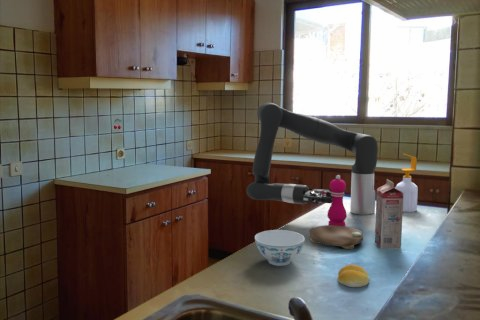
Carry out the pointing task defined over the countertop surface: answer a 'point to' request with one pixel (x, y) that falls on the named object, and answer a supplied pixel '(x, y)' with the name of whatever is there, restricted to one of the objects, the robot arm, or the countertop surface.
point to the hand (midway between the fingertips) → (335, 198)
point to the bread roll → (353, 276)
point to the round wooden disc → (336, 236)
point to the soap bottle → (409, 188)
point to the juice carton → (388, 217)
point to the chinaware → (279, 245)
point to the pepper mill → (337, 203)
